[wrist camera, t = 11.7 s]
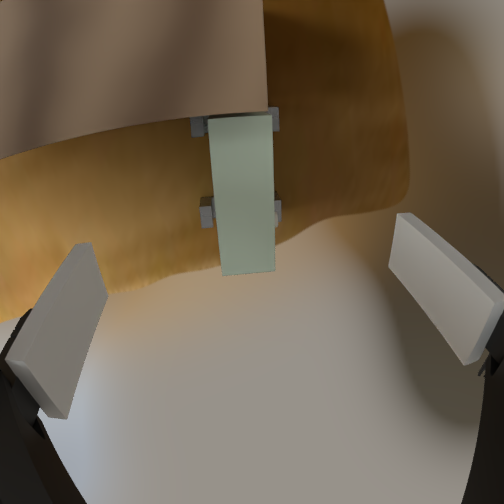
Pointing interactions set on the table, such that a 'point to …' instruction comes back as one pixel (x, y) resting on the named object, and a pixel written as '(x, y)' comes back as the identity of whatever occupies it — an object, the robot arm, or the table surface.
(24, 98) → the cabinet
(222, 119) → the pale green square block
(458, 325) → the robot arm
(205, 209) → the hinge clips
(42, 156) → the table surface
